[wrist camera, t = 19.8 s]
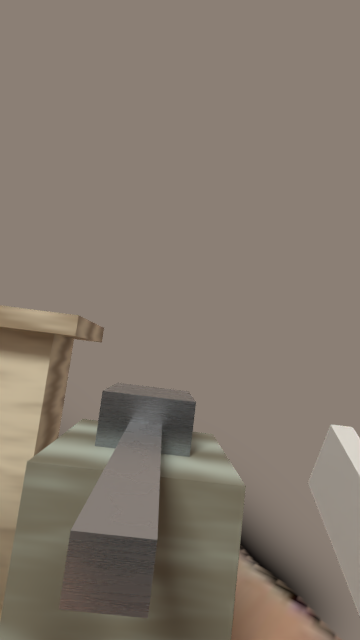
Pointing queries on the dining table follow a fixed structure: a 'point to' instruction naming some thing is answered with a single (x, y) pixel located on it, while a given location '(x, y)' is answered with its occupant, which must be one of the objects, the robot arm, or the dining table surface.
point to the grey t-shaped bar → (125, 501)
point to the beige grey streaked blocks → (75, 488)
